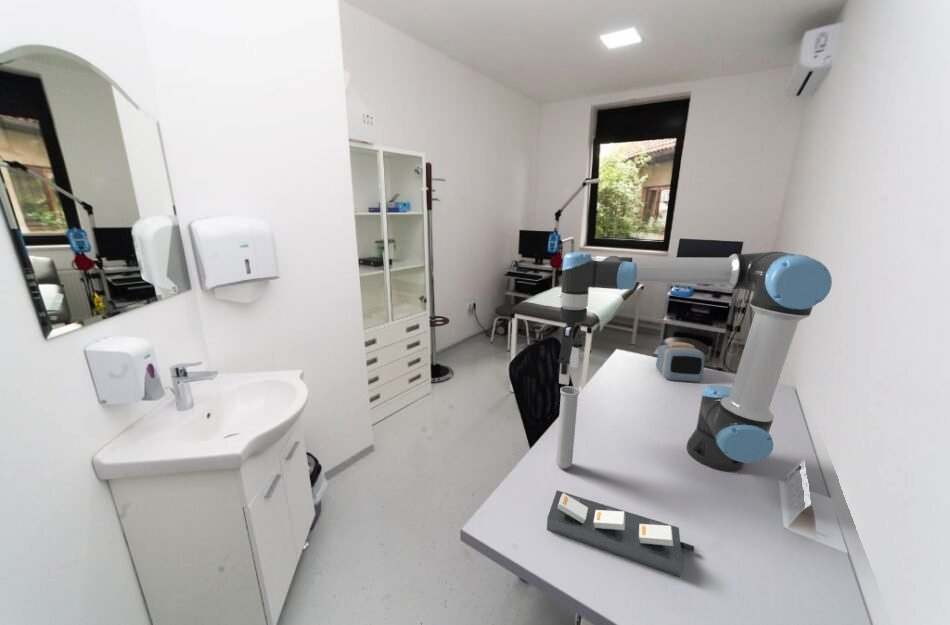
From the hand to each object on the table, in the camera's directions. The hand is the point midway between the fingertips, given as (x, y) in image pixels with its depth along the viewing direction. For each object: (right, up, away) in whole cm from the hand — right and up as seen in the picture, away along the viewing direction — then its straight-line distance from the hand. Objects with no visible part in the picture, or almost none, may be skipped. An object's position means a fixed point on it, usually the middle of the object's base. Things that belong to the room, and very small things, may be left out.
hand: (569, 375), depth 111 cm
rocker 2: (+2, -29, -27) cm, 40 cm away
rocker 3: (+11, -30, -31) cm, 45 cm away
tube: (-2, -27, -1) cm, 28 cm away
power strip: (+5, -33, -26) cm, 42 cm away
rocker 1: (-6, -28, -24) cm, 37 cm away
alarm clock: (+69, -11, +65) cm, 95 cm away
